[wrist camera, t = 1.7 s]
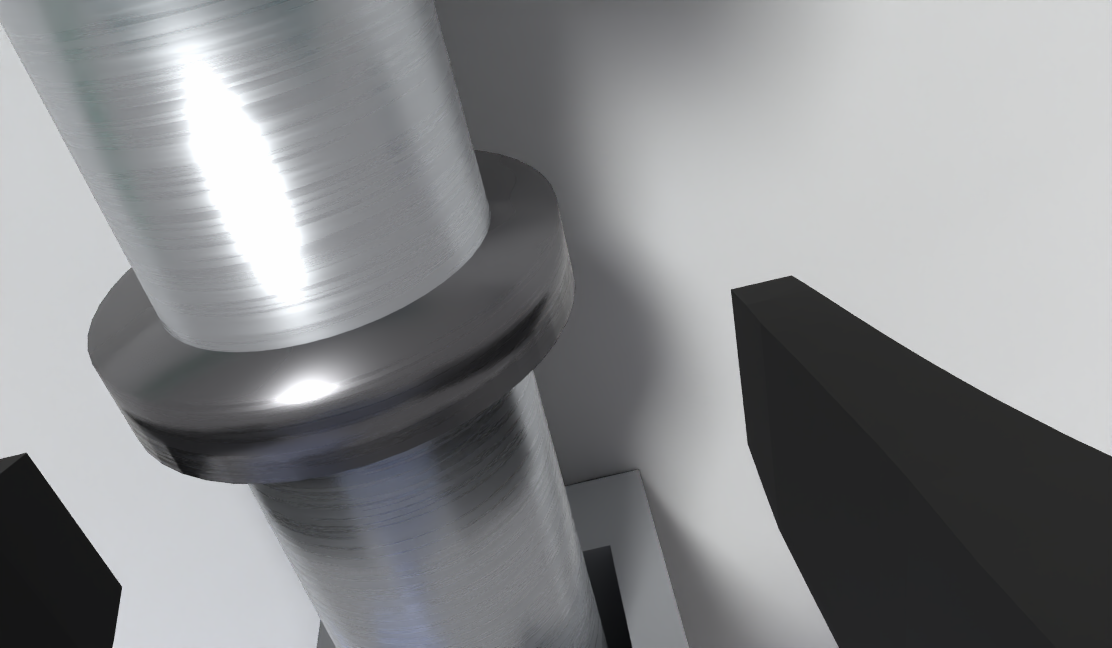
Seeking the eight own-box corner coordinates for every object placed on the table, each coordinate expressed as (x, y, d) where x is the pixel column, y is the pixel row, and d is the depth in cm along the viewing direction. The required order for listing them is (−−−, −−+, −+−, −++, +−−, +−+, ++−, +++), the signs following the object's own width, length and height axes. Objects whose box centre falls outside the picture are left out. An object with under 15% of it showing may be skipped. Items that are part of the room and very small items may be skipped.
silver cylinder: (670, 720, 16) (736, 994, 12) (440, 772, 16) (441, 1059, 12) (446, -274, 8) (454, -298, 4) (-21, -160, 8) (-395, -90, 4)
